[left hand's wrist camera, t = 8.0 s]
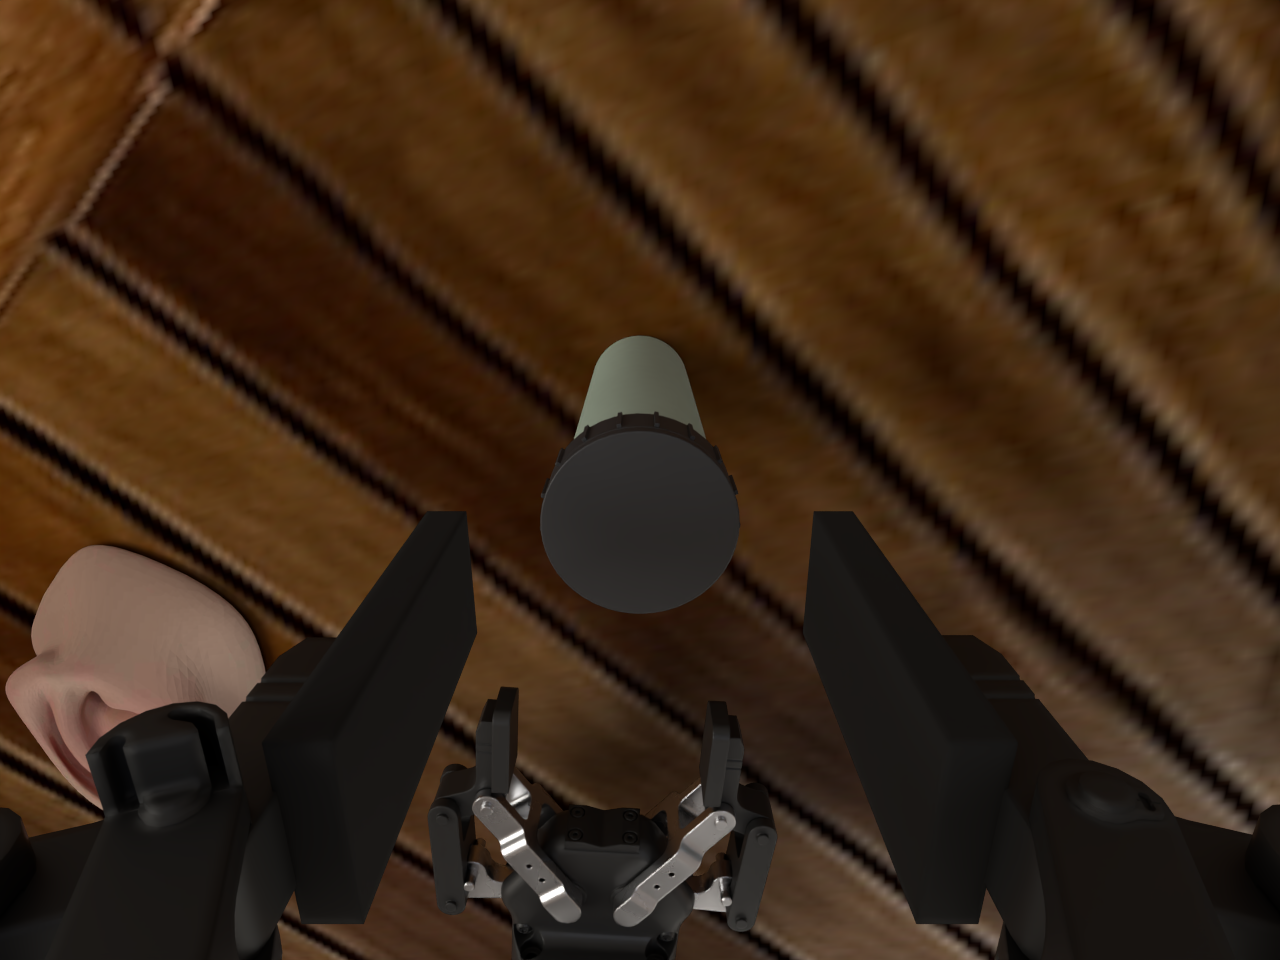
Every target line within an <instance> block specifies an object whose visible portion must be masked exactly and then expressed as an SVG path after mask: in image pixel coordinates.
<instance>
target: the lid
mask: <svg viewBox="0 0 1280 960" xmlns="http://www.w3.org/2000/svg"><path fill="white" fill-rule="evenodd" d="M736 494H738V491H737V488H736V485H735V482H734V479H733V477H732V475H730V476H728V473H727V470H726V467H725V465H724V463H723V461H722V458H721V455H720V452H719V449H718V447H717V446H716V445H715V446H714V447H713V446H712V445H711V444H710V443H709V442H708V441H707V440H706V439H705V438H704V437H703V436H702V435H700V434H699V433H698V432H697V431H695V430H694V429H693V425H692V424H690V423H688V425H686V424H683V423H681V422H679V421H677V420H674V419H671V418H668V417H665V416H660V415H659V412H656V411H654V414H643V413H635V414H625V415H623V414H622V412H619V413H618V415H617V416H615V417H612V418H609V419H606V420H603V421H601V422H599V423H597V424H595V425H593V426H591V427H589V425H586V426H585V427H584V431H583V432H582V433H581V434H579V435H578V436H577V437H576V438H575V439H574V440H573V441H572V442H571V443H570V444H569V445H568V446H567V448H566V449H565V450H564V449H563V448H561V450H560V452H559V454H558V457H557V460H556V463H555V467H554V470H553V472H552V475H551V478H550V479H549V478H547V480H546V483H545V486H544V489H543V491H542V495H541V497H542V498H544V500H543V503H542V509H541V516H540V523H541V526H540V530H541V535H542V541H543V544H544V548H545V551H546V553H547V556H548V558H549V560H550V562H551V564H552V565H553V567H554V569H555V570H556V572H557V573H558V574H559V576H560V577H561V578H562V579H563V580H564V582H565V583H566V584H567V585H569V586H570V587H571V588H572V589H573V590H574V591H575V592H577V593H578V594H579V595H581V596H582V597H584V598H585V599H587V600H589V601H591V602H593V603H595V604H597V605H600V606H602V607H605V608H608V609H611V610H615V611H619V612H626V613H641V614H643V613H655V612H660V611H665V610H669V609H672V608H675V607H678V606H681V605H683V604H685V603H687V602H689V601H691V600H693V599H694V598H696V597H698V596H699V595H701V594H702V593H703V592H704V591H706V590H707V589H708V588H710V587H711V585H712V584H713V583H714V582H715V581H716V580H717V579H718V578H719V577H720V576H721V574H722V573H723V572H724V570H725V569H726V567H727V565H728V564H729V562H730V560H731V558H732V556H733V553H734V550H735V548H736V544H737V540H738V536H739V528H740V521H739V509H738V504H737V499H736V496H735V495H736Z"/></svg>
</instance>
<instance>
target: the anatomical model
mask: <svg viewBox="0 0 1280 960" xmlns="http://www.w3.org/2000/svg"><path fill="white" fill-rule="evenodd" d="M31 637H32V643H33V647H34V650H35V652H36V655H37V657H35V658H33V659H32V660H30V661H28V662H27V663H25V664H24V665H22V666H21V667H19V668H18V669H17V670H16V671H14V672H13V673H12V675H11V676H10V677H9V679H8V681H7V683H6V694H7V697H8V699H9V701H10V703H11V704H12V706H13V707H14V709H15V710H16V712H17V713H18V715H19V716H20V718H21V719H22V720H23V722H24V723H25V724H26V726H27V727H28V729H29V730H30V731H31V733H32V734H33V736H34V737H35V738H36V740H37V741H38V743H39V744H40V745H41V747H42V748H43V749H44V751H45V752H46V754H47V755H48V756H49V758H50V759H51V761H52V762H53V763H54V764H55V766H56V767H57V768H58V769H59V771H60V772H61V773H62V775H63V776H64V777H65V778H66V779H67V780H68V781H69V782H70V783H71V785H72V786H73V787H74V788H75V789H76V790H77V791H78V792H80V793H81V794H82V795H83V796H84V797H86V798H87V799H88V800H89V801H90V802H92V803H93V804H95V805H96V806H98V807H99V808H101V809H102V810H103V808H102V805H101V802H100V799H99V796H98V793H97V789H96V786H95V783H94V780H93V777H92V774H91V771H90V768H89V765H88V762H87V759H86V756H85V755H86V754H87V752H88V751H89V750H90V749H91V747H92V746H93V745H94V744H95V742H96V741H97V740H98V739H99V738H100V737H101V736H103V735H104V734H106V733H107V732H108V731H110V730H111V729H113V728H114V727H115V726H117V725H118V724H120V723H121V722H123V721H126V720H128V719H130V718H132V717H134V716H136V715H138V714H141V713H143V712H145V711H147V710H151V709H155V708H158V707H162V706H165V705H169V704H172V703H182V702H194V701H199V702H204V703H210V704H215V705H217V706H218V707H220V708H221V709H222V710H223V711H225V712H226V713H227V716H228V718H229V717H230V716H231V715H232V713H233V712H234V711H235V710H236V708H237V707H238V706H239V705H240V704H241V702H245V701H246V696H247V695H248V694H249V693H250V691H251V690H252V689H253V688H254V686H255V685H256V684H257V683H261V678H262V677H263V675H264V674H265V673H266V672H265V667H264V663H263V659H262V656H261V652H260V648H259V646H258V643H257V641H256V638H255V636H254V634H253V632H252V630H251V628H250V627H249V625H248V623H247V622H246V621H245V619H244V618H243V617H242V615H241V614H240V613H239V612H238V611H237V610H236V609H235V608H234V607H233V606H232V605H231V604H230V603H229V602H227V601H226V600H225V599H224V598H222V597H221V596H220V595H218V594H217V593H215V592H214V591H212V590H211V589H209V588H208V587H206V586H205V585H203V584H201V583H200V582H198V581H196V580H194V579H193V578H191V577H189V576H187V575H185V574H183V573H181V572H179V571H177V570H175V569H173V568H171V567H168V566H166V565H164V564H162V563H159V562H157V561H154V560H152V559H150V558H147V557H145V556H142V555H139V554H136V553H133V552H130V551H127V550H124V549H121V548H117V547H113V546H105V545H93V546H88V547H85V548H82V549H81V550H79V551H78V552H76V553H75V554H74V555H72V556H71V557H70V558H69V560H68V561H67V562H66V563H65V564H64V565H63V566H62V568H61V569H60V571H59V572H58V574H57V575H56V577H55V579H54V580H53V582H52V583H51V585H50V586H49V588H48V589H47V591H46V593H45V594H44V596H43V599H42V601H41V603H40V606H39V608H38V611H37V614H36V617H35V619H34V623H33V626H32V635H31Z"/></svg>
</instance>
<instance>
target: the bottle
mask: <svg viewBox="0 0 1280 960" xmlns="http://www.w3.org/2000/svg"><path fill="white" fill-rule="evenodd" d="M654 411H656V412H659V415H660V416H665V417H668V418H671V419H674V420H677V421H679V422H681V423H683V424H686V425H688V423H690V424H692V425H693V429H694V430H695V431H697V432H698V433H699V434H700V435H702V436H703V437H704V438H705V439H706V437H705V434H704V430H703V427H702V424H701V420H700V417H699V413H698V410H697V407H696V403H695V400H694V396H693V393H692V390H691V386H690V383H689V379H688V376H687V373H686V369H685V367H684V364H683V362H682V360H681V358H680V357H679V355H678V354H677V353H676V352H675V351H674V349H673V348H671V347H670V346H669V345H668V344H666V343H664V342H663V341H661V340H659V339H656V338H653V337H648V336H632V337H627V338H624V339H621V340H619V341H617V342H615V343H614V344H612V345H611V346H610V347H609V348H608V349H606V350H605V351H604V353H603V354H602V355H601V357H600V358H599V360H598V362H597V364H596V366H595V369H594V373H593V376H592V380H591V383H590V386H589V390H588V393H587V397H586V400H585V404H584V407H583V410H582V414H581V417H580V421H579V424H578V427H577V431H576V434H575V438H576V437H577V436H578V435H579V434H581V433H582V432H583V431H584V427H585V426H586V425H589V427H591V426H593V425H595V424H597V423H599V422H601V421H603V420H606V419H609V418H612V417H615V416H617V415H618V413H619V412H622V414H623V415H625V414H635V413H643V414H654ZM575 438H574V439H575Z"/></svg>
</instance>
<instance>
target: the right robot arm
mask: <svg viewBox="0 0 1280 960" xmlns="http://www.w3.org/2000/svg"><path fill="white" fill-rule="evenodd" d="M518 699H519V689H518V688H514V687H501V688H500V691H499V694H498V698H497V700H494V699H488V700H487V702H486V704H485V706H484V708H483V711H482V714H481V717H480V721H479V724H478V727H477V730H476V766H475V767H472V768H468V769H467V768H466V767H465V766H463V765H460V764H451V765H449V766H447V767H446V768H445V769H444V771H443V774H442V777H441V780H440V786H439V788H438V791H437V794H436V797H435V800H434V802H433V803H432V805H431V808H430V810H429V813H428V824H429V833H430V842H431V851H432V860H433V869H434V878H435V888H436V897H437V905H438V908H439V909H440V910H441V911H442V912H444V913H446V914H449V915H456V914H459V913H461V912H463V911H464V909H465V906H466V902H467V898H502V900H503V902H504V904H505V906H506V907H507V908H508V910H509V911H510V913H511V915H512V922H513V923H512V960H675V956H676V948H677V941H678V933H679V928H680V926H681V924H682V922H683V921H684V920H685V919H686V918H687V917H688V916H689V915H690V913H691V912H692V910H693V909H700V910H710V911H720V912H726V916H727V924H728V926H729V927H730V928H731V929H732V930H735V931H747V930H749V929H751V928H752V927H753V926H754V924H755V920H756V917H757V913H758V909H759V905H760V901H761V898H762V894H763V890H764V886H765V883H766V879H767V875H768V871H769V868H770V864H771V860H772V856H773V852H774V849H775V845H776V841H777V832H776V828H775V823H774V819H773V814H772V810H771V805H770V801H769V796H768V792H767V789H766V787H765V786H764V785H762V784H759V783H750V784H747V785H745V786H744V785H741V784H739V780H740V773H741V767H742V760H743V754H744V746H743V740H742V735H741V730H740V725H739V722H738V719H737V716H733V715H728V711H727V706H726V702H720V701H708V704H707V712H706V720H705V727H704V735H703V742H702V750H701V758H700V765H699V769H700V777H699V778H698V779H697V780H696V781H694V782H693V783H692V784H691V785H690V786H689V787H687V788H686V789H685V790H684V791H683V792H682V793H680V794H679V793H677V792H672V793H670V794H669V795H668V796H667V797H666V798H665V799H664V800H662V801H661V802H660V803H659V804H658V805H657V806H655V807H654V808H653V809H652V810H651V811H650V812H649V813H647V814H646V815H645V816H643V815H640V809H635V808H617V809H610V810H601V809H597V808H594V807H590V806H586V805H569V810H566V811H562V809H561V808H560V807H559V806H558V805H557V804H556V803H555V801H554V800H553V799H552V798H551V797H550V796H549V795H548V793H547V792H546V791H545V790H544V789H543V788H542V787H541V785H539V784H538V783H535V784H533V785H532V784H530V783H529V782H528V781H527V780H526V778H525V777H524V776H523V775H522V774H521V773H520V772H519V770H518V769H517V768H516V767H515V763H516V758H517V744H518ZM474 814H475V815H476V816H477V817H478V819H479V820H480V821H481V822H482V823H483V824H484V825H485V826H486V827H487V828H488V829H489V830H490V831H491V833H492V834H493V835H494V836H495V837H496V838H497V839H498V840H499V842H500V846H501V852H502V855H503V857H504V859H505V860H506V861H507V864H506V865H501V864H498V863H496V862H495V861H493V859H492V858H491V855H490V852H489V851H488V850H487V849H486V848H485V844H486V842H485V840H484V839H482V838H478V839H476V835H475V823H474ZM538 829H539V830H538ZM731 830H732V831H731ZM730 831H731V835H730V839H729V843H728V848H727V852H726V854H725V853H722V852H721V853H718V854H717V855H716V862H714V863H713V864H712V865H711V866H710V869H709V870H708V871H707V872H706V873H705V874H703V875H700V876H693V873H694V872H695V871H696V870H697V869H698V868H699V866H700V864H701V861H702V857H703V855H704V853H705V852H706V851H707V850H708V849H710V848H711V847H712V846H713V845H715V844H716V843H717V842H718V841H719V840H721V839H722V838H723V837H724V836H725V835H727V834H728V833H729V832H730ZM667 836H668V839H667Z"/></svg>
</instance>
